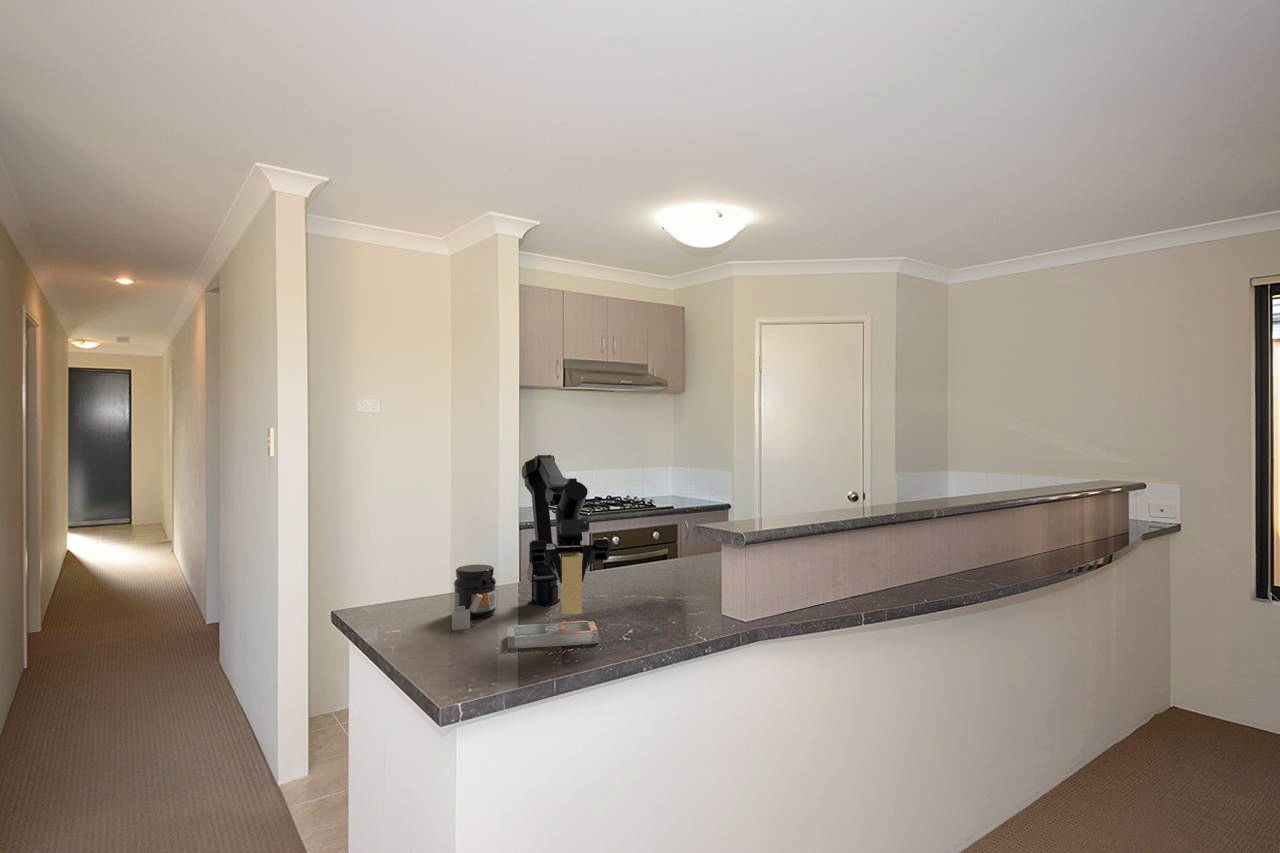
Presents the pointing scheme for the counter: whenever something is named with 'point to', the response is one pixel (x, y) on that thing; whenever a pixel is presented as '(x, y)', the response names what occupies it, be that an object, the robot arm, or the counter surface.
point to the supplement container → (475, 589)
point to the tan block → (571, 583)
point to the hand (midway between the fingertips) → (571, 581)
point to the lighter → (464, 614)
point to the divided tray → (552, 634)
